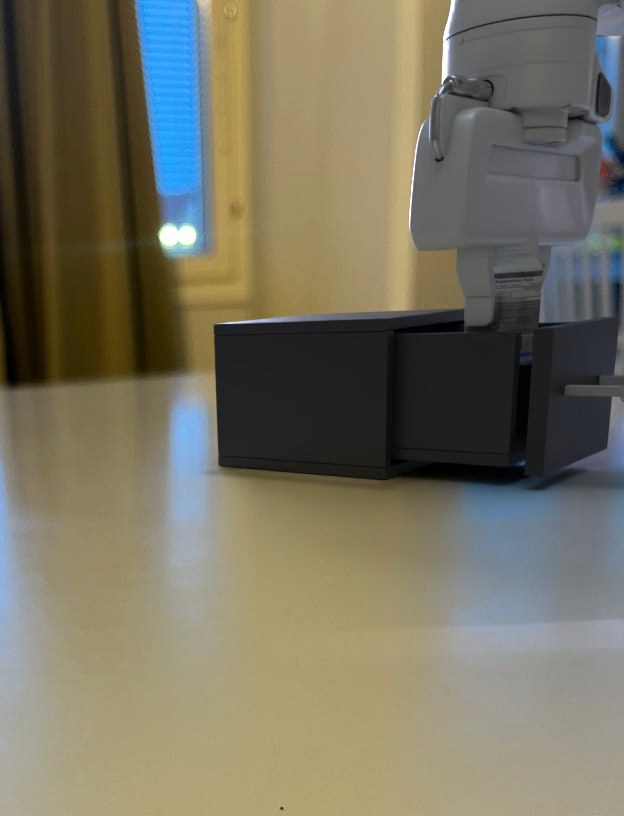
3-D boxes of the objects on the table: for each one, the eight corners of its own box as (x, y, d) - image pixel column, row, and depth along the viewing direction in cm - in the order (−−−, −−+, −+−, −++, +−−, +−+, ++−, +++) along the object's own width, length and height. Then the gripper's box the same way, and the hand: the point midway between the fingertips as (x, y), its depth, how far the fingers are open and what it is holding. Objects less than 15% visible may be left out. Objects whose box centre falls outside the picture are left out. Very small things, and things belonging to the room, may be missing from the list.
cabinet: (467, 451, 77) (474, 307, 73) (384, 479, 68) (388, 318, 64) (307, 442, 86) (307, 314, 83) (217, 465, 77) (212, 324, 74)
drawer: (680, 452, 66) (697, 314, 63) (622, 482, 58) (638, 326, 55) (428, 439, 78) (432, 322, 75) (352, 462, 70) (353, 332, 67)
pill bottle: (454, 364, 69) (459, 234, 66) (522, 360, 69) (531, 230, 66) (473, 369, 65) (480, 230, 62) (546, 364, 64) (557, 225, 62)
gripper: (492, 58, 52) (478, 332, 57) (624, 94, 66) (604, 312, 71) (385, 80, 56) (380, 334, 61) (530, 110, 70) (517, 315, 75)
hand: (502, 322), depth 66 cm, fingers closed on pill bottle, 5 cm apart
